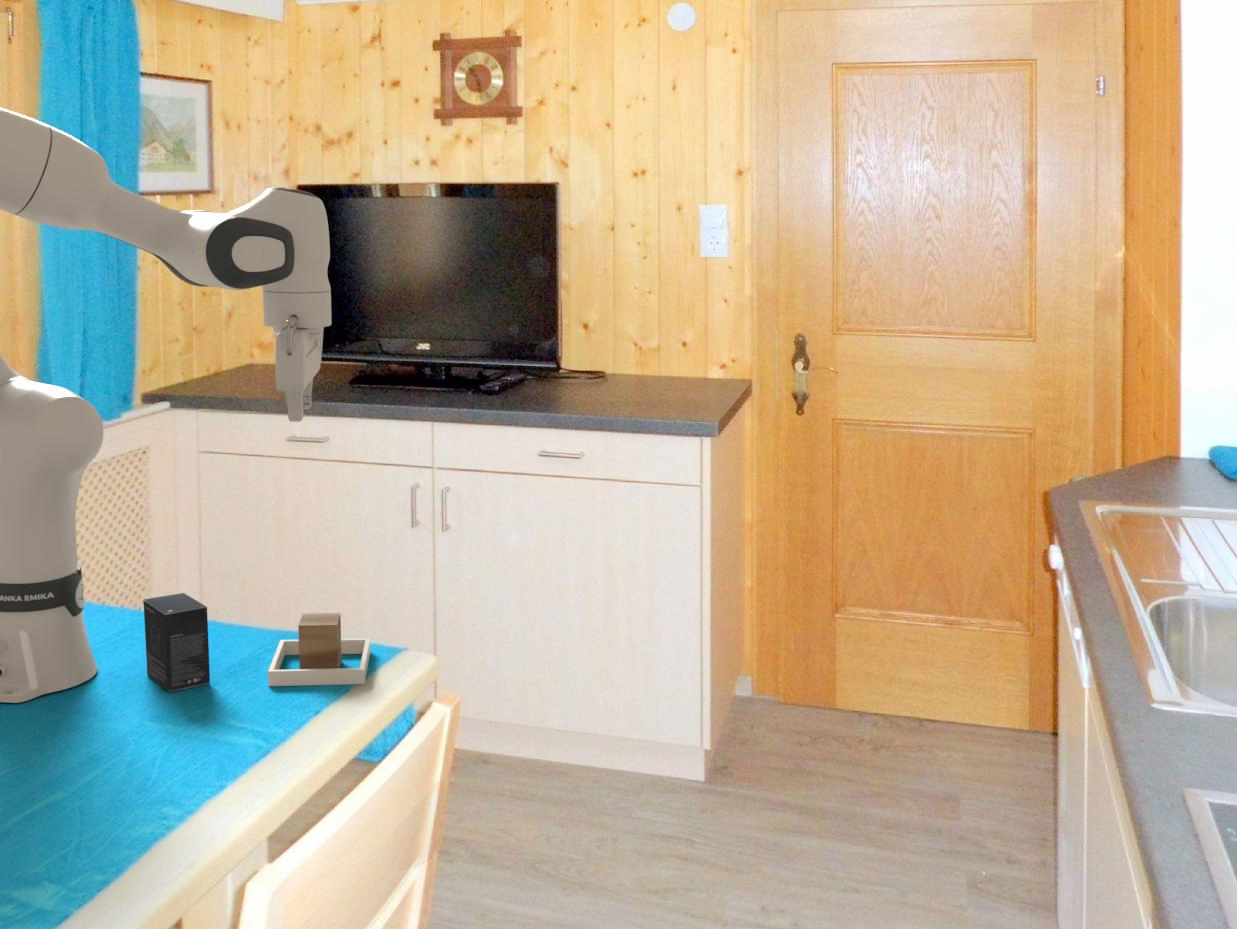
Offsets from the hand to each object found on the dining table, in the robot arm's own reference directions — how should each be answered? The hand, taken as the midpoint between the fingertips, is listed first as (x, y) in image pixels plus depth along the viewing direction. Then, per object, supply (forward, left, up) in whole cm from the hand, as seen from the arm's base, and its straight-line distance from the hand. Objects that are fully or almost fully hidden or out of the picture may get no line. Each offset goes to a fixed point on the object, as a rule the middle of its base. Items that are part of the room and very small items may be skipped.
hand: (300, 414), depth 181 cm
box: (-15, -12, -33) cm, 38 cm away
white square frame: (+3, -9, -33) cm, 34 cm away
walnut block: (+3, -9, -33) cm, 34 cm away
